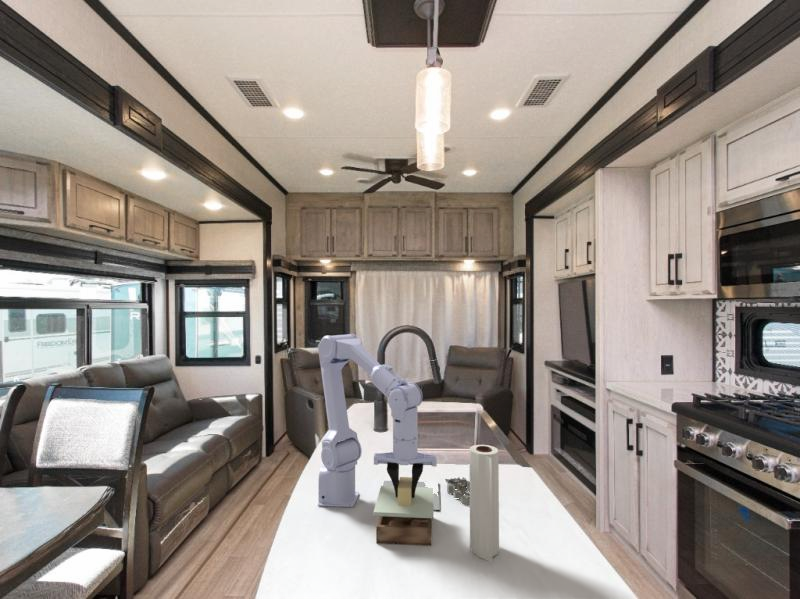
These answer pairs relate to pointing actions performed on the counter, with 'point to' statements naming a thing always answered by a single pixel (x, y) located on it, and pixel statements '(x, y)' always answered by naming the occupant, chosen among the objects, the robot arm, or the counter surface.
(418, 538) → the box base
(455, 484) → the egg carton
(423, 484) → the mat
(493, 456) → the paper towel roll
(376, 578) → the counter surface
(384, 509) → the lid
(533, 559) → the counter surface
